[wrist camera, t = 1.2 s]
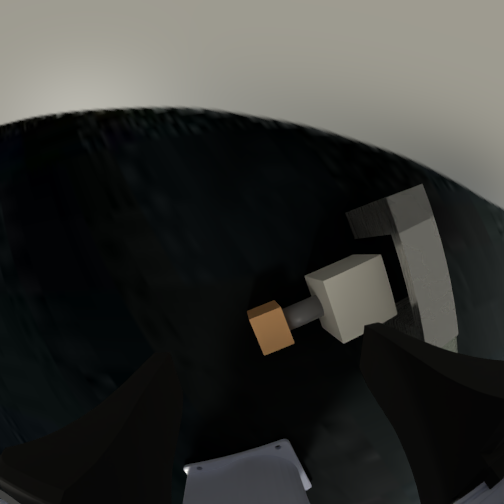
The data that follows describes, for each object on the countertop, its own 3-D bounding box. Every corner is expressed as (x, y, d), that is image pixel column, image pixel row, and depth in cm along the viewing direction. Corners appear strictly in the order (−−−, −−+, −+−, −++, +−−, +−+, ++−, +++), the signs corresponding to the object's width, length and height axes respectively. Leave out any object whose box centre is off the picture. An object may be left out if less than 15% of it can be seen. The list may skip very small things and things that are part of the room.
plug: (263, 352, 18) (272, 375, 14) (242, 300, 18) (245, 313, 14) (368, 304, 19) (397, 314, 15) (353, 254, 19) (380, 254, 15)
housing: (383, 407, 19) (418, 439, 13) (328, 219, 19) (365, 205, 13) (433, 374, 20) (472, 396, 14) (390, 195, 19) (436, 178, 13)
